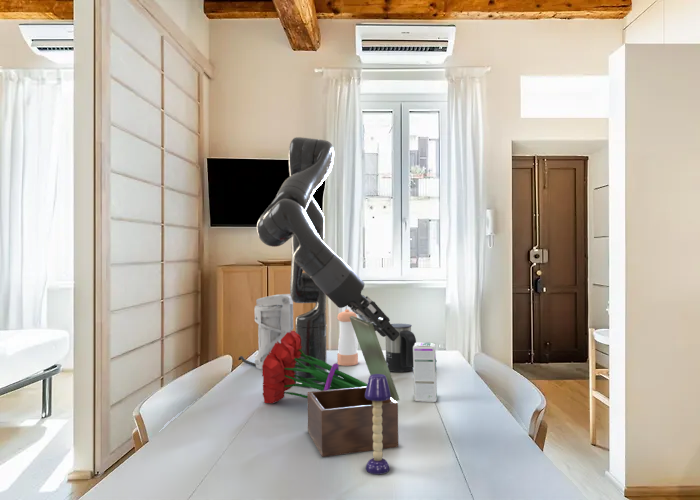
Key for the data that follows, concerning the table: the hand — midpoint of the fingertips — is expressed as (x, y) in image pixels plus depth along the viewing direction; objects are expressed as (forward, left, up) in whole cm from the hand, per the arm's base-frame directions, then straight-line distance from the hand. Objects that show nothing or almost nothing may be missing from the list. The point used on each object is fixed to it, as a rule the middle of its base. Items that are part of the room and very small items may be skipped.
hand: (391, 335), depth 104 cm
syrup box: (-2, +28, -21) cm, 35 cm away
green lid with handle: (-3, -3, -4) cm, 6 cm away
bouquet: (-24, +11, -21) cm, 34 cm away
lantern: (-62, +41, -21) cm, 77 cm away
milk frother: (-18, +58, -21) cm, 64 cm away
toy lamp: (+5, -16, -21) cm, 27 cm away
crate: (-6, -6, -21) cm, 23 cm away
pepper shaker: (-41, +56, -21) cm, 72 cm away
